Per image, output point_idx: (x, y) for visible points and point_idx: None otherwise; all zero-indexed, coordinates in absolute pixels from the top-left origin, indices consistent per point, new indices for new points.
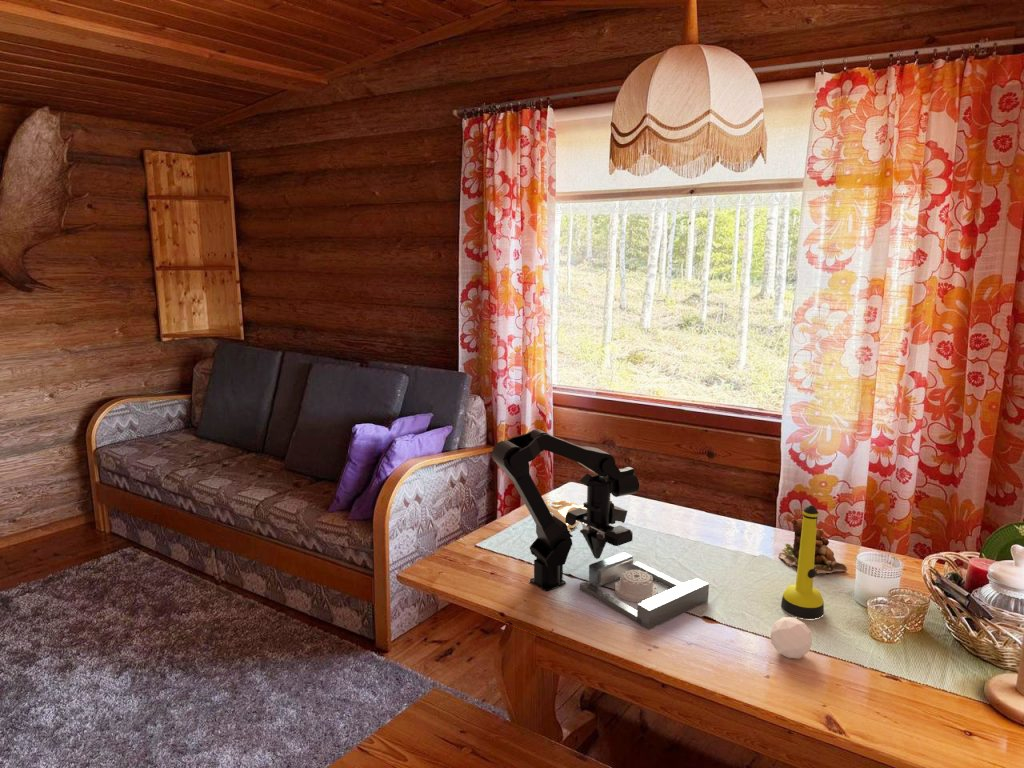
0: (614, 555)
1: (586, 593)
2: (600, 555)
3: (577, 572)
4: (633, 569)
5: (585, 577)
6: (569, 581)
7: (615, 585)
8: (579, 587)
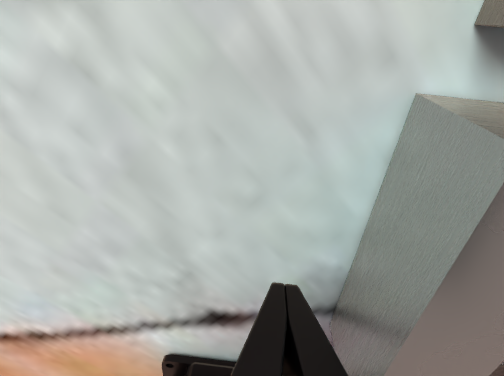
0: (443, 281)
1: None
2: (306, 303)
3: (222, 287)
4: (493, 26)
5: None
6: None
7: None
8: None
